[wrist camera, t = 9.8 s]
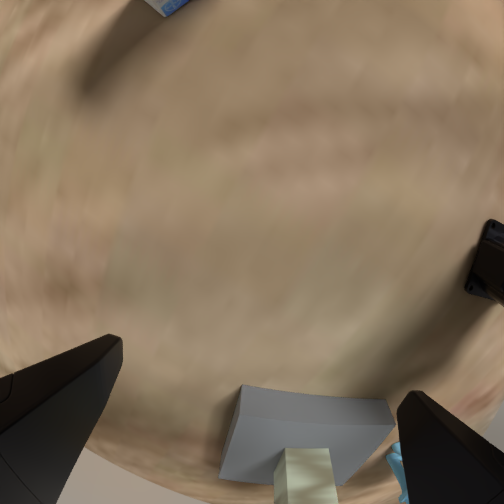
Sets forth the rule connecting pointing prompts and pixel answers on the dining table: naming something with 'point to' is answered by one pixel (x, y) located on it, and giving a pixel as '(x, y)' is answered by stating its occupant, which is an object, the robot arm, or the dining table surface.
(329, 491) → the sage block
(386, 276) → the dining table surface
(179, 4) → the medicine box
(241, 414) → the grey block
